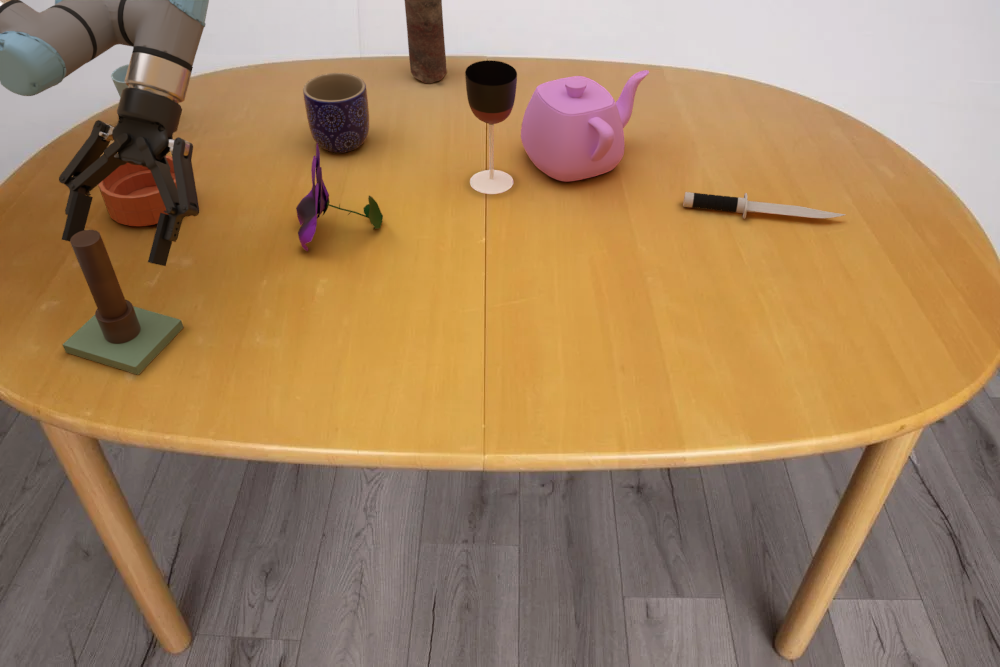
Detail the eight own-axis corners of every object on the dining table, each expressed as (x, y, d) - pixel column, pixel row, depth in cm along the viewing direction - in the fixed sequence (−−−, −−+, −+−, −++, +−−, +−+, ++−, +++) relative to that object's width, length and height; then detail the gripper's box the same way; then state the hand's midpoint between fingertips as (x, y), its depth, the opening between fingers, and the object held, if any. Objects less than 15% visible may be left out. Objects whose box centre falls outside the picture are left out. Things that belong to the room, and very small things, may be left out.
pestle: (96, 338, 119) (56, 244, 108) (119, 316, 122) (82, 223, 111) (125, 347, 118) (87, 253, 107) (148, 325, 121) (113, 231, 110)
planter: (304, 157, 156) (294, 99, 148) (320, 126, 164) (312, 70, 156) (364, 161, 155) (357, 103, 147) (378, 129, 163) (372, 73, 155)
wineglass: (501, 163, 154) (502, 56, 140) (523, 189, 148) (526, 79, 135) (460, 174, 152) (456, 66, 138) (481, 200, 146) (479, 90, 132)
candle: (402, 76, 178) (394, -23, 165) (427, 63, 182) (421, -34, 169) (429, 87, 175) (423, -13, 161) (454, 74, 179) (450, -24, 165)
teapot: (561, 208, 144) (567, 126, 134) (507, 147, 158) (508, 69, 148) (678, 176, 151) (691, 96, 141) (616, 120, 165) (624, 44, 155)
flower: (362, 228, 149) (284, 205, 142) (397, 156, 141) (317, 128, 134) (370, 282, 138) (287, 260, 132) (409, 207, 130) (322, 180, 124)
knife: (684, 201, 142) (685, 184, 145) (682, 214, 143) (683, 197, 147) (850, 218, 138) (847, 201, 142) (845, 231, 140) (843, 213, 143)
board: (65, 352, 119) (61, 344, 118) (113, 307, 126) (110, 299, 125) (138, 375, 116) (135, 367, 115) (184, 327, 123) (181, 319, 122)
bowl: (92, 219, 142) (80, 187, 138) (143, 177, 151) (133, 147, 146) (159, 236, 138) (148, 204, 134) (207, 193, 147) (198, 162, 143)
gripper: (251, 121, 115) (210, 277, 115) (95, 89, 121) (57, 237, 121) (219, 102, 107) (176, 270, 107) (55, 70, 114) (15, 227, 114)
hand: (113, 253), depth 114 cm, fingers open, 13 cm apart
